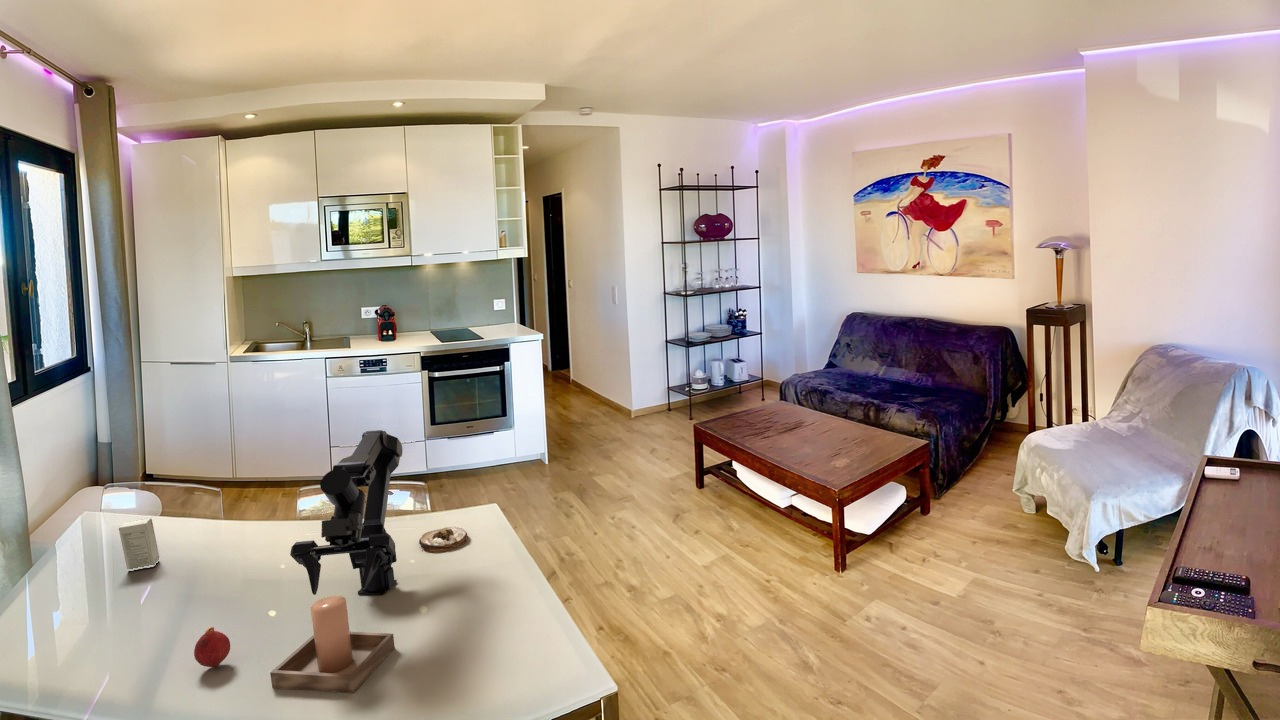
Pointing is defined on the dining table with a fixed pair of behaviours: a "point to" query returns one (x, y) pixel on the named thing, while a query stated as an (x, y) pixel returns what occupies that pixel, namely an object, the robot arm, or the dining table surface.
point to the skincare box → (139, 543)
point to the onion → (211, 648)
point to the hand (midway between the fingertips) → (338, 591)
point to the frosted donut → (443, 539)
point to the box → (306, 676)
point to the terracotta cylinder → (331, 634)
